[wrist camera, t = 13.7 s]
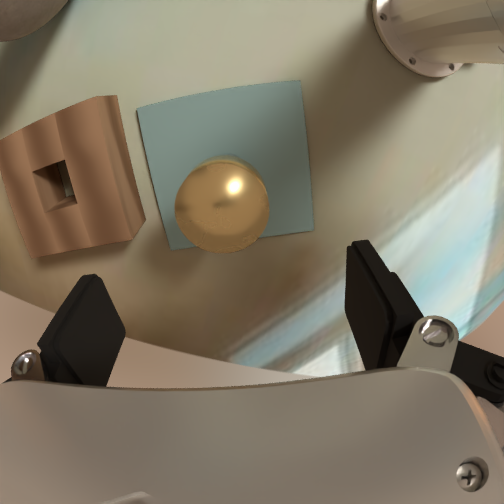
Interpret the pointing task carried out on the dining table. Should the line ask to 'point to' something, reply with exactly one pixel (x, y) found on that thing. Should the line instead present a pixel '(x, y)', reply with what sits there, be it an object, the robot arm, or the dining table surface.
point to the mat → (233, 148)
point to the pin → (222, 204)
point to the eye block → (72, 179)
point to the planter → (25, 16)
